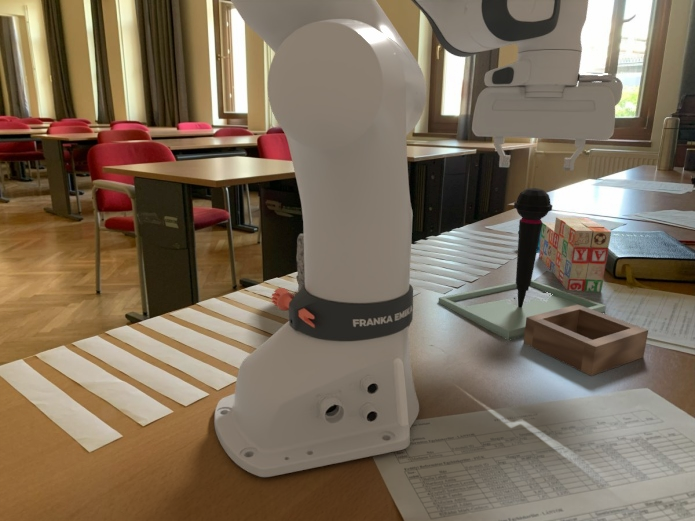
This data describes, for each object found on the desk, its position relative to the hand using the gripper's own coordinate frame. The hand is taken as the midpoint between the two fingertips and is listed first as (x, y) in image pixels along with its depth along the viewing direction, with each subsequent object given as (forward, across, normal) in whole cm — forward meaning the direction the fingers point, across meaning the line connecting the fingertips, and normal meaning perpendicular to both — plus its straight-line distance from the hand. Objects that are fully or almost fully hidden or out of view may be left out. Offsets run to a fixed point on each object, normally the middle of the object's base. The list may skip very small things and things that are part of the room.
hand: (535, 168), depth 80 cm
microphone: (+23, 0, 0) cm, 23 cm away
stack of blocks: (+24, -7, -24) cm, 35 cm away
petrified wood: (+24, +28, +7) cm, 38 cm away
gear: (+25, -2, -39) cm, 46 cm away
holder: (+24, -9, +12) cm, 28 cm away
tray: (+24, 0, 0) cm, 24 cm away
